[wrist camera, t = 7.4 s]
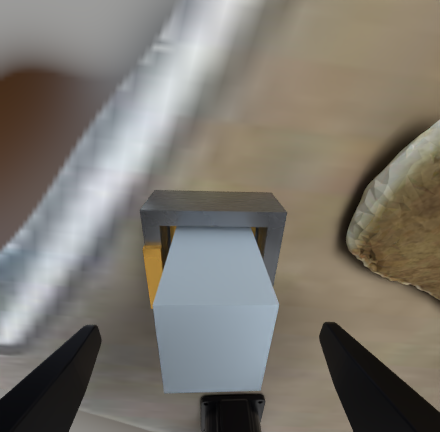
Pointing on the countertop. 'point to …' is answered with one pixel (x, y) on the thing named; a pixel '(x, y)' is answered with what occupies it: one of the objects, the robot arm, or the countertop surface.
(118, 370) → the countertop surface
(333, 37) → the countertop surface
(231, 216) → the rack
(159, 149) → the countertop surface
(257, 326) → the pale blue upright block
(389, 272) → the stone tool
